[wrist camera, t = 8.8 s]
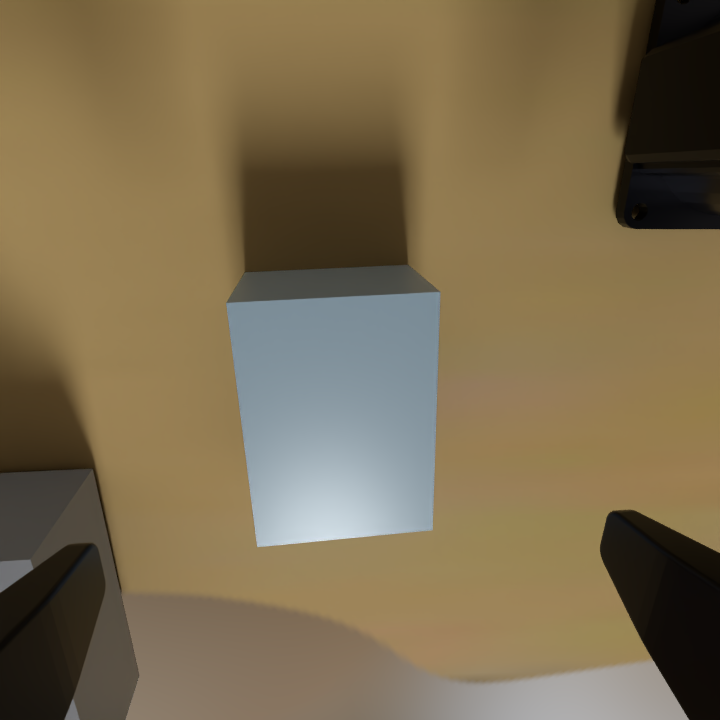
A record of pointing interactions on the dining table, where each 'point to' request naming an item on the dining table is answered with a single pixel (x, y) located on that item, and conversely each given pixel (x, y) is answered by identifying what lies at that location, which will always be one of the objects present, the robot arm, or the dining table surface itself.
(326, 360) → the slate brick
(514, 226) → the dining table surface
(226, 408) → the dining table surface
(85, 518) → the charcoal base brick
